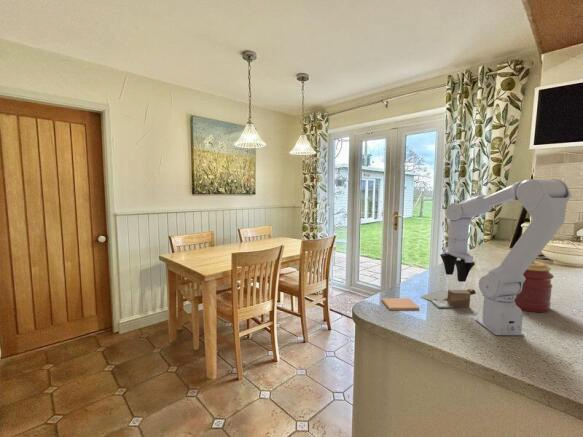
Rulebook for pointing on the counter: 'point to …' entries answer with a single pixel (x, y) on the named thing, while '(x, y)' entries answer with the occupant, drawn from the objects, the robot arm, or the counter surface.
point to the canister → (536, 288)
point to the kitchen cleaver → (440, 295)
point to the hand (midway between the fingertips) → (455, 277)
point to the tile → (400, 304)
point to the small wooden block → (455, 299)
